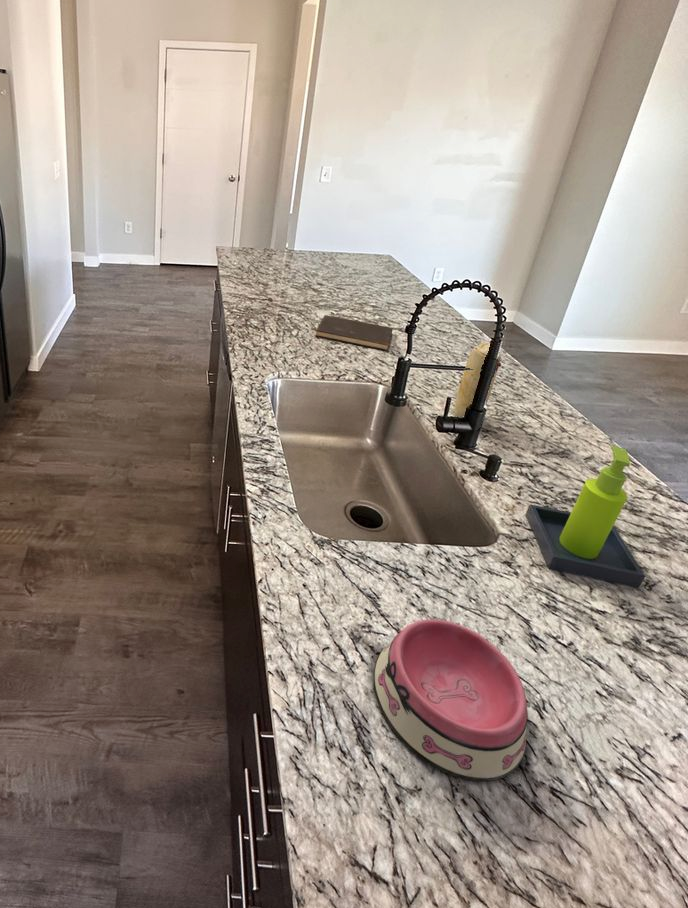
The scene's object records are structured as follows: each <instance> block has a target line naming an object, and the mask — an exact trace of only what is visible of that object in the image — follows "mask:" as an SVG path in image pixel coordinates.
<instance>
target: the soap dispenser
mask: <svg viewBox="0 0 688 908" xmlns="http://www.w3.org/2000/svg"><path fill="white" fill-rule="evenodd" d="M610 449H611V451H612V455H613V460H612V462H611V463H610V465H609V466H603V467H602V468H601V469H600V472H599V474H598V476H597V478H593V477H592V478H588V479H586V480H585V481H584V484H583V486H582V489H581V490H580V492H579V494H578V497H577V499H576V501H575V503H574V505H573V508H572V510H571V511H570V512H571V514H570V516H569V518H568V520H567V523H566V525H565V527H564V529H563V531H562V533H561V535H560V538H559V539H560V543H561V544H562V545H563V547H564V548H566V549H567V550H568V551H569V552H571V553H573V554H575V555H577V556H579V557H582V558H587V559H593V558H596V557H597V556H598V554H599V552H600V550H601V548H602V547H603V545H604V543H605V541H606V539H607V537H608V535H609V533H610V531H611V529H612V527H613V525H614V526H615V523H616V522H617V520H618V517H620V513H621V512H622V510H623V508H624V506H625V505H626V502H627V501H628V494H627V493H626V492H625V490H623V487H624V484H625V483H626V480H627V475H626V474H625V473H624V472H623V471H624V469H625V468H626V467H627V468H628V467H630V465H631V462H630V456H629V453H628V451H627V450H626V448H623V447H621V446H616V445H610Z"/></svg>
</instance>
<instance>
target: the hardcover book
mask: <svg viewBox="0 0 688 908" xmlns="http://www.w3.org/2000/svg"><path fill="white" fill-rule="evenodd" d="M393 330H394V327H391V326H386V325H379V324H375V323H370V322H364V321H359V320H353V319H349V318H344V317H338V316H332V315H327V314H324V316H323V317H322V319H321V321H320V323H319V324H318V326H317V328H316V329H315V332H316V333H315V334H314V337H316V338H322V339H326V340H330V341H336V342H341V343H345V344H350V345H355V346H360V347H365V348H368V349H369V348H370V349H375V350H380V351H384V352H388V350H389V346H390V343H391V339H392V333H393Z"/></svg>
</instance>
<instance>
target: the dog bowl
mask: <svg viewBox="0 0 688 908" xmlns="http://www.w3.org/2000/svg"><path fill="white" fill-rule="evenodd" d="M372 675H373V680H372V681H373V690H374V694H375V698H376V702H377V704H378V707H379V709H380V711H381V713H382V715H383V717H384V719H385V720H386V723H387V724H388V725H389V727H390V728H391V730H392V731H393V732H394V734H395V735H396V737H398V740H400V741H401V742H402V743H403V744H404V745H405V746H406V747H407V749H409V750H410V751H411V752H412V753H413V754H415V755H416V757H418V758H419V759H421V760H422V761H423V762H424V763H426V764H428V765H429V766H431V767H433V768H435V769H437V770H439V771H440V772H443V773H445V774H447V775H449V776H451V777H455V778H458V779H462V780H466V781H471V782H491V781H498V780H499V779H503V778H505V777H507V776H509V775H511V773H513V772H514V771H515V770H516V769H517V768H518V767H519V766H520V764H521V762H522V760H523V758H524V756H525V751H526V747H527V746H526V745H527V727H528V726H527V725H528V718H529V716H528V715H529V711H528V703H527V696H526V691H525V689H524V685H523V683H522V680H521V678H520V676H519V674H518V673H517V671H516V669H515V668H514V666H513V665H512V663H511V662H510V661H509V659H508V658H507V657H506V656H505V655H504V654H503V653H502V652H501V651H500V650H499V649H498V648H497V647H496V646H495V645H493V643H491V642H490V641H489V640H488V639H486V638H485V637H483V636H482V635H480V634H479V633H477V632H476V631H474V630H472V629H470V628H468V627H466V626H463V625H461V624H458V623H455V622H452V621H448V620H444V619H436V618H435V619H434V618H432V619H431V618H429V619H421V620H418V621H414V622H411V623H410V624H408V625H407V626H406V627H404V628H403V629H402V630H401V631H398V633H397V634H396V635H395V636H394V637H393V639H392V641H391V642H390V643H389V644H387V645H386V646H385V647H384V648H383V649H382V650H381V651H380V653H379V655H378V657H377V659H376V661H375V664H374V667H373V674H372Z"/></svg>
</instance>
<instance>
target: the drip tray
mask: <svg viewBox="0 0 688 908" xmlns="http://www.w3.org/2000/svg"><path fill="white" fill-rule="evenodd" d="M525 512H526V513H525V519H526V520H527V522H528V525H529V527H530V530H531V532H532V534H533V536H534V539H535V541H536V543H537V546H538V548H539V551H540V553H541V555H542V558H543V560H544V562H545V564H546V567H547V569H549V570H553V571H559V572H563V573H566V574H572V575H575V576H576V575H577V576H581V577H587V578H590V579H595V580H600V581H603V582H609V583H613V584H618V585H623V586H627V587H631V588H635V589H636V588H637V589H639V588H640V587H641V585H642V583H643V582H644V580H645V578H646V574H645V573H644V571H643V570H642V569H641V566H640V565H639V564H638V562H637V560H636V559H635V557H634V556H633V554H632V552H631V551H630V549H629V548H628V546H627V544H626V543H625V541H624V540H623V537H621V534H620V533H619V532H618V530H617V528H616V527H615V524H614V525H613V527H612V529H611V531H610V533H609V535H608V537H607V539H606V541H605V543H604V545H603V547H602V548H601V550H600V552H599V554H598V556H597V557H596V558H593V559H587V558H582V557H579V556H577V555H575V554H573V553H571V552H569V551H568V550H567V549H566V548H564V547H563V545H562V544H561V543H560V539H559V538H560V535H561V533H562V531H563V529H564V527H565V525H566V523H567V520H568V518H569V516H570V514H571V512H572V511H566V510H561V509H557V508H556V509H555V508H551V507H547V506H541V505H536V504H530V503H529V505H528V508H527V510H526V511H525Z"/></svg>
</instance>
